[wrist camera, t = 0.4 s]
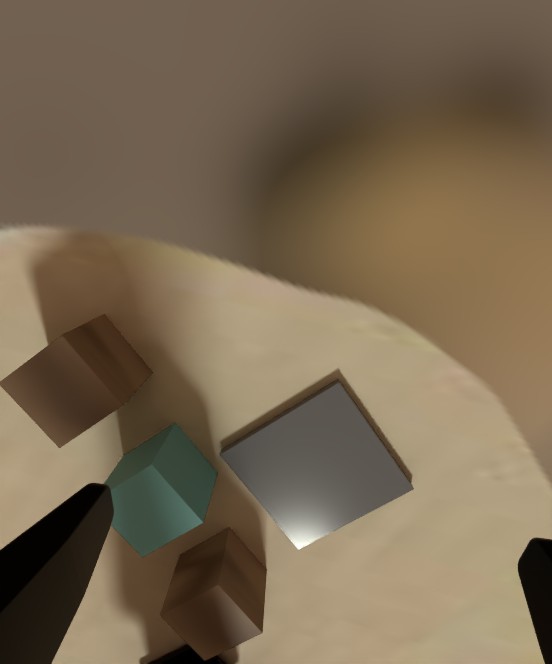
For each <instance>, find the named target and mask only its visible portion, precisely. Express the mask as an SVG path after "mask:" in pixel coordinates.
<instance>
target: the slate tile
mask: <svg viewBox="0 0 552 664" xmlns="http://www.w3.org/2000/svg"><path fill="white" fill-rule="evenodd" d="M220 456H221V457H222V458H223V459H224V460H225V462H226V463H227V464H228V465H229V466H230V468H231V469H232V470H233V471H234V473H235V474H236V475H237V476H238V477H239V479H240V480H241V481H242V482H243V483H244V485H245V486H246V487H247V488H248V489H249V491H250V492H251V493H252V494H253V495H254V497H255V498H256V499H257V500H258V501H259V503H260V504H261V505H262V506H263V508H264V509H265V510H266V511H267V512H268V514H269V515H270V516H271V517H272V518H273V520H274V521H275V522H276V523H277V524H278V526H279V527H280V528H281V529H282V530H283V532H284V533H285V534H286V535H287V537H288V538H289V539H290V540H291V541H292V543H293V544H294V545H295V546H296V547H297V549H298V550H299V549H300V548H302V547H304V546H306V545H308V544H310V543H312V542H314V541H316V540H318V539H320V538H321V537H323V536H325V535H327V534H329V533H331V532H333V531H335V530H337V529H339V528H341V527H342V526H344V525H346V524H348V523H350V522H352V521H354V520H356V519H358V518H360V517H362V516H364V515H365V514H367V513H369V512H371V511H373V510H375V509H377V508H379V507H381V506H383V505H385V504H386V503H388V502H390V501H392V500H394V499H396V498H398V497H400V496H402V495H404V494H406V493H407V492H409V491H411V490H413V489H414V488H413V486H412V484H411V482H410V481H409V480H408V478H407V477H406V475H405V474H404V472H403V471H402V470H401V468H400V467H399V465H398V464H397V462H396V461H395V460H394V458H393V457H392V455H391V454H390V452H389V451H388V450H387V448H386V447H385V445H384V444H383V442H382V441H381V439H380V438H379V437H378V435H377V434H376V432H375V431H374V429H373V428H372V427H371V425H370V424H369V422H368V421H367V419H366V418H365V417H364V415H363V414H362V412H361V411H360V409H359V408H358V407H357V405H356V404H355V402H354V401H353V399H352V398H351V397H350V395H349V394H348V392H347V391H346V389H345V388H344V387H343V385H342V384H341V382H340V381H339V379H338V380H336V381H334V382H333V383H331V384H329V385H328V386H326V387H324V388H323V389H321V390H320V391H318V392H316V393H315V394H313V395H311V396H310V397H308V398H306V399H305V400H303V401H301V402H300V403H298V404H297V405H295V406H293V407H292V408H290V409H288V410H287V411H285V412H283V413H282V414H280V415H278V416H277V417H275V418H274V419H272V420H270V421H269V422H267V423H265V424H264V425H262V426H260V427H259V428H257V429H256V430H254V431H252V432H251V433H249V434H247V435H246V436H244V437H242V438H241V439H239V440H237V441H236V442H234V443H233V444H231V445H229V446H228V447H226V448H224V449H223V450H221V453H220Z"/></svg>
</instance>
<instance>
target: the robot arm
mask: <svg viewBox="0 0 552 664" xmlns="http://www.w3.org/2000/svg"><path fill="white" fill-rule="evenodd" d="M113 516H114V506H113V501H112V495H111V489H110V487H109V486H108V485H106V484H99V483H90V484H88V485H86V486H85V487H83V488H82V489H81V490H79V491H78V492H77V493H75V494H74V495H73V496H71V497H70V498H69V499H67V500H66V501H65V502H63V503H62V504H61V505H59V506H58V507H57V508H55V509H54V510H53V511H51V512H50V513H49V514H47V515H46V516H45V517H43V518H42V519H41V520H39V521H38V522H37V523H35V524H34V525H33V526H31V527H30V528H29V529H27V530H26V531H25V532H23V533H22V534H21V535H20V536H18V537H17V538H16V539H14V540H13V541H12V542H10V543H9V544H8V545H6V546H5V547H4V548H2V549H1V550H0V664H51V663H52V661H53V659H54V657H55V655H56V653H57V651H58V649H59V647H60V645H61V643H62V641H63V639H64V636H65V634H66V632H67V630H68V628H69V626H70V624H71V622H72V620H73V618H74V616H75V614H76V612H77V610H78V608H79V605H80V603H81V601H82V599H83V597H84V594H85V592H86V589H87V587H88V584H89V582H90V579H91V576H92V574H93V571H94V568H95V566H96V563H97V560H98V558H99V555H100V552H101V550H102V547H103V544H104V542H105V539H106V537H107V534H108V531H109V529H110V526H111V523H112V520H113ZM518 573H519V577H520V580H521V584H522V587H523V591H524V594H525V598H526V601H527V605H528V608H529V612H530V615H531V619H532V622H533V626H534V629H535V633H536V636H537V639H538V643H539V646H540V649H541V653H542V656H543V659H544V662H545V664H552V540H551V539H544V538H533V539H531V540H530V542H529V543H528V545H527V547H526V549H525V550H524V552H523V554H522V556H521V557H520V559H519V562H518ZM150 664H225V663H224V662H223V661H222V660H221V659H220V658H219V657H218V656H217V655H216V656H214V657H212V658H210V659H208V660H206V661H204V660H203V659H202V658H201V657H200V656H199V655H198V654H197V653H196V652H195V651H194V650H193V649H192V648H191V647H190V645H189V644H188V645H186V646H184V647H182V648H180V649H178V650H176V651H174V652H172V653H170V654H168V655H166V656H164V657H162V658H160V659H158V660H156V661H154V662H152V663H150Z"/></svg>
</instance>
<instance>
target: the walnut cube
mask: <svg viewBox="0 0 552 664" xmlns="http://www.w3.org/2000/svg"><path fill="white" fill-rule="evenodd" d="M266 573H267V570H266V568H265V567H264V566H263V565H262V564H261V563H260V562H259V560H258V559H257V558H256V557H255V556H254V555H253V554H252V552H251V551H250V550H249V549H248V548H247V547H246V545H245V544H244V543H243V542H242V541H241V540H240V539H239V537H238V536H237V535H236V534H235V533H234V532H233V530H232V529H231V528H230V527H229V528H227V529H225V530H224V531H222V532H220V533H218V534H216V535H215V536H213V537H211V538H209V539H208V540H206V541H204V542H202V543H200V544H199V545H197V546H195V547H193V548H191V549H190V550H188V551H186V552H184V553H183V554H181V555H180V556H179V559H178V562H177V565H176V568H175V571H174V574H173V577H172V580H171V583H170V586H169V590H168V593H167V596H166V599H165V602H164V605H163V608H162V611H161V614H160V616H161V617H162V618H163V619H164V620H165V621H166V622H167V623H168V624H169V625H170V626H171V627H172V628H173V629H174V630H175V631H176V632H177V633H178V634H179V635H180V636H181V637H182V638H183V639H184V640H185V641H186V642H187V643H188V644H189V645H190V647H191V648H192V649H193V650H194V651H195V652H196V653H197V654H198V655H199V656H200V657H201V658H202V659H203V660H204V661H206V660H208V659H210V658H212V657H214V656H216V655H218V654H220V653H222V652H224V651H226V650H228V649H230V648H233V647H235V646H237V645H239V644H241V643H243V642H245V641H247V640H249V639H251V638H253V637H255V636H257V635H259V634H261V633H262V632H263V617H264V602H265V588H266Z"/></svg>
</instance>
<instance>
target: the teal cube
mask: <svg viewBox="0 0 552 664" xmlns="http://www.w3.org/2000/svg"><path fill="white" fill-rule="evenodd" d="M217 474H218V472H217V471H216V470H215V469H214V468H213V466H212V465H211V464H210V463H209V462H208V460H207V459H206V458H205V457H204V456H203V454H202V453H201V452H200V451H199V450H198V449H197V447H196V446H195V445H194V444H193V443H192V441H191V440H190V439H189V438H188V437H187V435H186V434H185V433H184V432H183V431H182V429H181V428H180V427H179V426H178V425H177V424H176V423H174V424H173V425H171V426H169V427H168V428H166V429H165V430H163V431H162V432H160V433H159V434H157V435H155V436H154V437H152V438H151V439H149V440H148V441H146V442H145V443H143V444H142V445H140V446H138V447H137V448H135V449H134V450H132V451H131V452H129V453H128V454H126V455H124V456H123V458H122V459H121V460H120V462H119V463H118V465H117V466H116V467H115V469H114V470H113V472H112V473H111V474H110V476H109V477H108V479H107V480H106V481H105V483H104V484H106V485H108V486H109V487H110V489H111V495H112V501H113V506H114V516H113V520H112V523H111V525H112V526H113V527H114V529H115V530H116V531H117V532H118V533H119V534H120V535H121V536H122V537H123V538H124V539H125V540H126V541H127V542H128V543H129V544H130V545H131V546H132V547H133V548H134V549H135V550H136V551H137V552H138V553H139V555H140V556H141V557H144V556H146V555H148V554H149V553H151V552H153V551H155V550H156V549H158V548H160V547H162V546H163V545H165V544H167V543H169V542H171V541H172V540H174V539H176V538H178V537H179V536H181V535H183V534H185V533H186V532H188V531H190V530H192V529H193V528H195V527H197V526H199V525H200V524H202V523H203V522H204V519H205V515H206V512H207V508H208V505H209V501H210V498H211V494H212V491H213V488H214V484H215V481H216V477H217Z"/></svg>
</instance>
